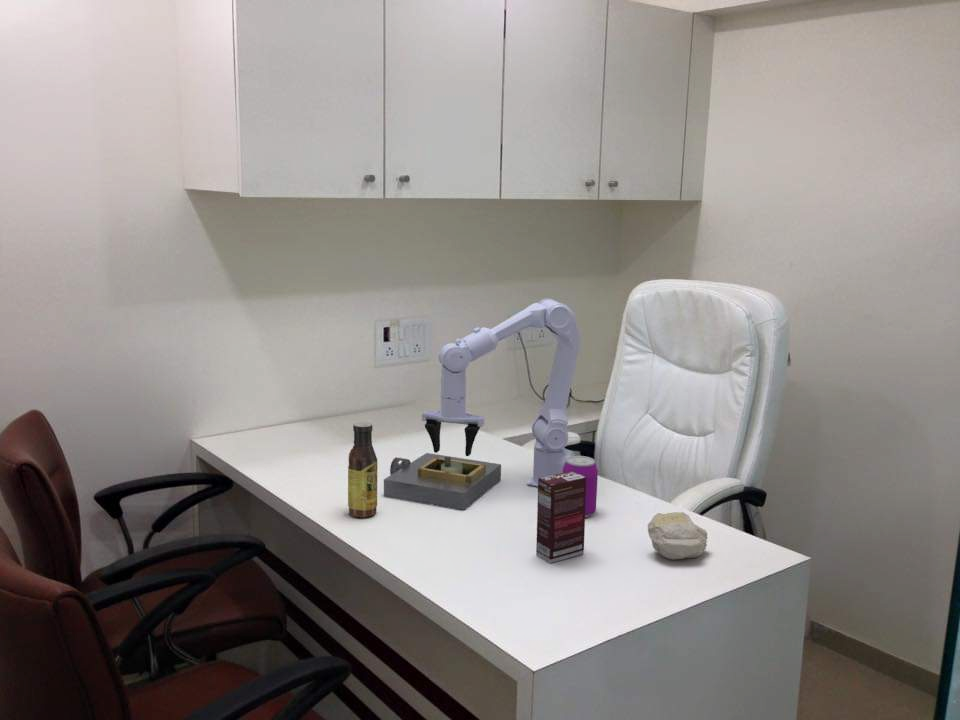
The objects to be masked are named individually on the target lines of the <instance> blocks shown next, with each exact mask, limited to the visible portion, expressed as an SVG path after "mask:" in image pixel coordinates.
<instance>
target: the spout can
mask: <svg viewBox="0 0 960 720" xmlns="http://www.w3.org/2000/svg"><path fill="white" fill-rule="evenodd" d="M450 457H451V456H450ZM450 457H445V463H443V464H441V471H445V472H451V473H457V474H462V470H463V465H462V464H461V463H457V462H451V458H450Z"/></svg>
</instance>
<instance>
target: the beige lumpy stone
mask: <svg viewBox="0 0 960 720" xmlns="http://www.w3.org/2000/svg"><path fill="white" fill-rule="evenodd" d="M647 532H648V536H649V538H650V540H651V545H652V548H653V550H654V551H655V552H657V553H659V554H660V555H661V556H663V557H664V558H667V559H669V560H672V561H675V560H682V559H693V558H695V559H696V558H697V557H699V556H701V555H702V554H703V553H704V552H705V550H706V548H707V546H708V544H707V542H708V540H707V539H708V532H707V530H706V529H705V528H702V527H700V526H699V525H697V524H694V522H693V520H692V519H691V517H690V515H689V514H687V513H686V512H683V511H680V512H679V511H677V512H675V511H674V512H666V513H657V514H655V515H654V516H653V517H652V519H651V520H650V521H649V522H648V524H647Z"/></svg>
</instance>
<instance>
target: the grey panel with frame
mask: <svg viewBox="0 0 960 720" xmlns="http://www.w3.org/2000/svg"><path fill="white" fill-rule="evenodd" d="M445 457H450V458H451V462H457V463H461V464H462V465H463V470H462V474H457V473H451V472H445V471H441V464H443V463H445ZM389 474H390V475H389V476H386V477H385V478H384V479H383V497H386V498H392V499H396V500H402V501H409V502H413V501H414V502H413V503H419V502H420V503H419V504H425V503H426V504H425V505H430V504H433V505H432V506H436V505H438V507H441V506H443V507H442V508H447V507H450V508H449V509H453V508H456V509H455V510H458V509H462V510H461V511H465V510H466V508H467V507H468V508H469V507H471V506H472V505H473V504H474V503H475V502H476V501H478V499H480V498H481V497H483V496H484V495H485V494H486V493H488V492H489V490H490V489H492V488H493V487H494V486H495V485H496V484H498V483H499V482H500V481H501V480H502V463H495V462H489V461H488V462H487V461H482V460H475V459H471V458H470V459H469V458H462V457H457V456H450V455H443V454H438V453H430V452H426V453H424V454H423V455H421V456H419V457H417V458H416V459H415V460H413V461H411V460H410V459H408V458H403V457H394V458H393V459H392V461H391V463H390V468H389ZM473 502H474V503H473ZM472 503H473V504H472Z"/></svg>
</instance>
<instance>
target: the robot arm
mask: <svg viewBox="0 0 960 720" xmlns="http://www.w3.org/2000/svg"><path fill="white" fill-rule="evenodd" d="M528 328H537V329H545V328H547V330H548V331H550V333H551V334H552V335H553V337H554V338H555V340H556V342H557V343H556V348H555V352H554V356H553V362H552V366H551V371H550V375H549V381H548V385H547V389H546V395H545V398H544V399H545V400H544V404H543V406H542V407H541V408H540V409H539V411H538V415H537V417H536V418H535V420H534V421H533V422H532V425H531V433H532V435H533V437H534V438H535V443H534V447H533V470H532V471H533V473H532V478H531V479H530V480H529V481H528V482H527V483H526V485H527V486H532V487H537V488H538V478H541V477H546V476H551V475H555V474H560V473H563V467H564V464H565V462H566V459H567V458H568V457H571V456H575V452H574V451H573V450H570V449H567V448H565V447H566V445H567V444H568V442H569V433H568V424H569V423H568V422H569V421H568V417H567V406H568V401H569V399H570V397H569V396H570V393H571V392H570V391H571V388H572V383H573V379H574V374H575V369H576V365H577V360H578V356H579V352H580V351H579V350H580V346H581V340H582V337H581V333H580V329H579V326H578V324H577V317H576V314H575V313H574V312H573V310H571V308H570V307H569V306H568V305H566V304H565V303H561V302H558V301H556V300H555V299H552V298H543V299H541V300H540V301H538V302H534V303H532V304H530V305H529V306H527V307H526V308H524V309H523V310H521V311H519V312H517V313H515V314H514V315H512V316H510V317H509V318H508V319H506V320H504V321H502V322H501V323H499V324H498V325H496V326H494V327H492V328H488V327H485V326H484V327H481V328H480V327H479V326H478V327H476V328H473V332H472V333H470V334H468V335H466V336H464V337H462V338H456V339H455V343H454V342H453V343H447V344H445V345H444V346H443V347H442V348H441V349H440V351H439V353H438V355H437V357H438V361H439V363H440V364H441V371H440V372H441V376H440V411H434V410H433V411H431V410H430V411H428V410H425V411H423V412H422V413H421V421H422V422H425V424H424V428H425V429H426V432H427V434H428V435H429V438H430V440H431V444H432V447H433V454H438V452H439V451H441V427H442V423H449V424H459V425H467V426H466V427H465V428H464V436H465V451H464V452H465V457H469V456H471V454H472V449H473V445H474V442H475V439H476V436H477V434H478V433H479V431H480V429H481V428H482V427H484V426H485V416H481V415H477V414H471V413H466V395H467V394H466V393H467V392H466V391H467V390H466V389H467V387H466V386H467V384H466V383H467V381H466V380H467V377H466V372H467V371H466V369H468V366H469V365H470V363H472V362H474V361H476V360H478V359H481V357H483V356H485V355H487V354H489V353H491V352H493V351H494V350H496V349H497V346H498V343H499V342H500V341H502V340H505V339H507V338H509V337H511V336H513V335H515V334H517V333H519V332H522V331H523V330H526V329H528Z"/></svg>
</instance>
